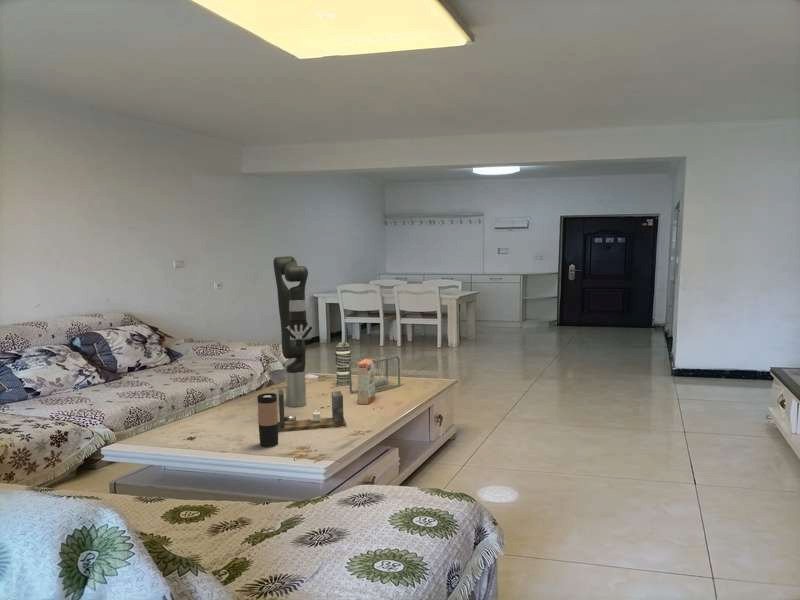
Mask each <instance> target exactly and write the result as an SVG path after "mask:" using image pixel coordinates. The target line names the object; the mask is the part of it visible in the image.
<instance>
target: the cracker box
mask: <svg viewBox="0 0 800 600" xmlns="http://www.w3.org/2000/svg"><path fill="white" fill-rule="evenodd" d="M363 359H364V358H363ZM356 366H357V368H356V370H357V371H356V373H357V390H358V392H357V393H358V394H357V404H358V405H369V404H370V403H371V402H373V400H375V399H374V398H376V393H375V391H376V388H375V379H376V372H375V369H376V368H375V363H374V359H364V360H362V361H360V362H358V363H356Z"/></svg>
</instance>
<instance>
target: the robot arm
mask: <svg viewBox="0 0 800 600" xmlns="http://www.w3.org/2000/svg"><path fill="white" fill-rule="evenodd" d="M273 270H274V271H273V272H274V279H275V283H276V289H277V290H276V291H277V301H278V313H279V321H280V330H281V331H280V332H281V333H280V334H281V335H280V337H281V352H282V356H283V358H284V359H287V360H289V359H290V360H291V359H294V361H293V362H292V363H289V364H288V365H286V368H285V371H286V372H285V374H286V386H285V400H286V403H285V404H286V406H288V407H291V408H299V407H304V406H306V405H307V392H306V391H307V389H306V343H305V341H304V339H306V338H307V336H308V335H309V333H310V332H311V330H313V326H312V325H310V324H308V321H307V303H306V284H307V280H308V276H309V270H308V268H307V267H306V266H305V265H298V263H297V260H296V259H295V257H294V256H291V255H289V256H276V257H274V258H273ZM283 276H284V278H285V280H286V281H287V282H289V283H295V282H298V283H299V284H298V285H295V286H293V287H290V288H288V286H287V285H286V283H285V281H284V279H283ZM305 329H306V330H305ZM291 330H292V331H293V332H294V334H293V333H292V332H291ZM304 331H305V332H304ZM303 332H304V333H303Z"/></svg>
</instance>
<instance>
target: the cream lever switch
mask: <svg viewBox="0 0 800 600" xmlns="http://www.w3.org/2000/svg"><path fill="white" fill-rule="evenodd" d="M320 418H321V412H320V411H318V410H317V409H315V410H314V412H312V419H313V420H314V421H320V420H321V419H320Z"/></svg>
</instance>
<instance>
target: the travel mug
mask: <svg viewBox="0 0 800 600" xmlns="http://www.w3.org/2000/svg"><path fill="white" fill-rule="evenodd" d="M278 411H279V410H278V396H277V393H274V392H270V393H269V392H268V393H260V394H258V395H257V416H258V417H257V420H258V423H257V424H258V434H259V435H258V437H259V446H260V447H263V448H273V447H276V446H278V445H279V432H278V422H279V416H278V414H279V413H278Z"/></svg>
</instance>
